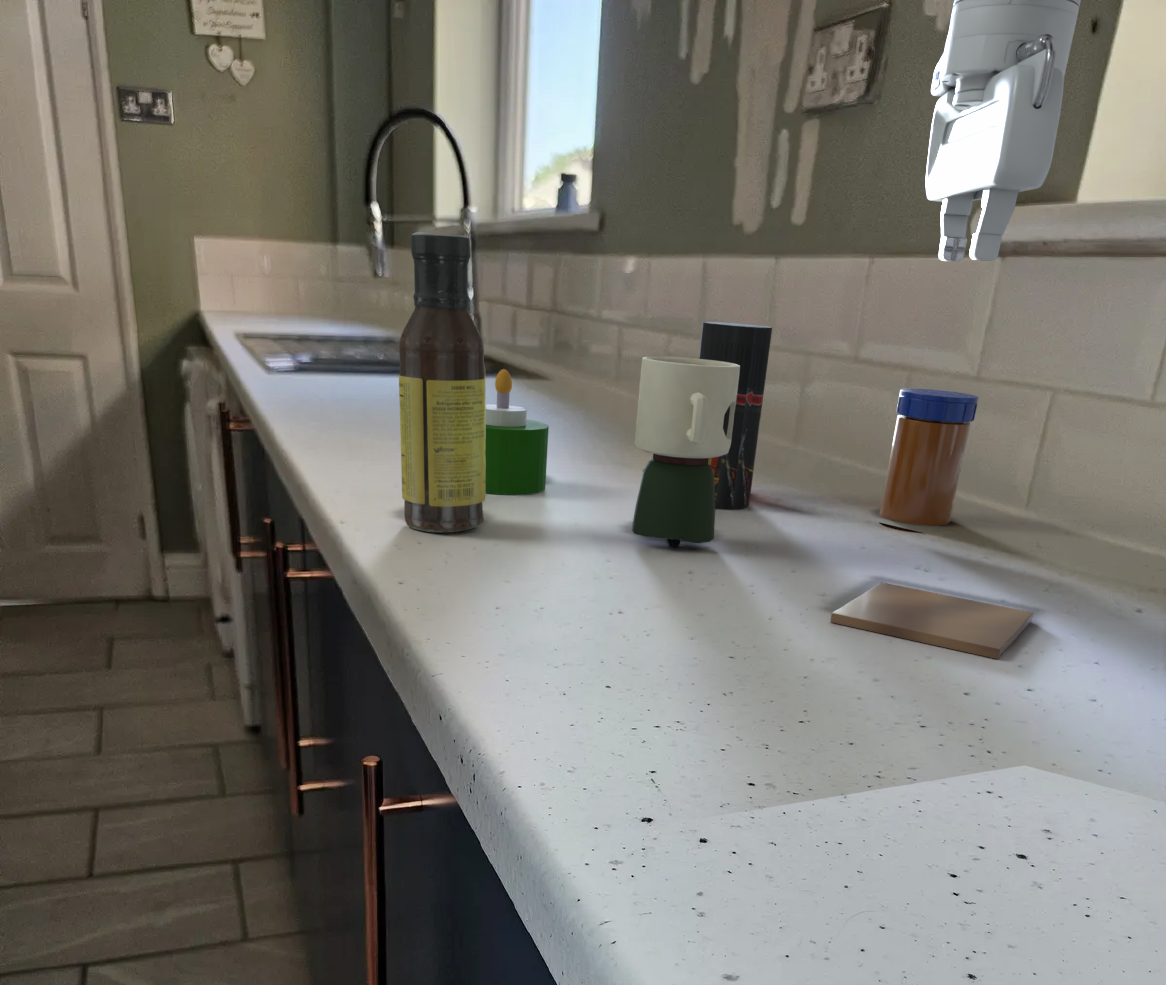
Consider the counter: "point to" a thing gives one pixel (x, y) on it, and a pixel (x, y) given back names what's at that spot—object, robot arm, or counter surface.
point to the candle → (513, 446)
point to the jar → (923, 471)
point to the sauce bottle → (442, 392)
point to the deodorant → (739, 404)
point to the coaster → (935, 619)
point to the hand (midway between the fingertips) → (965, 260)
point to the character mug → (682, 444)
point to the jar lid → (937, 405)
